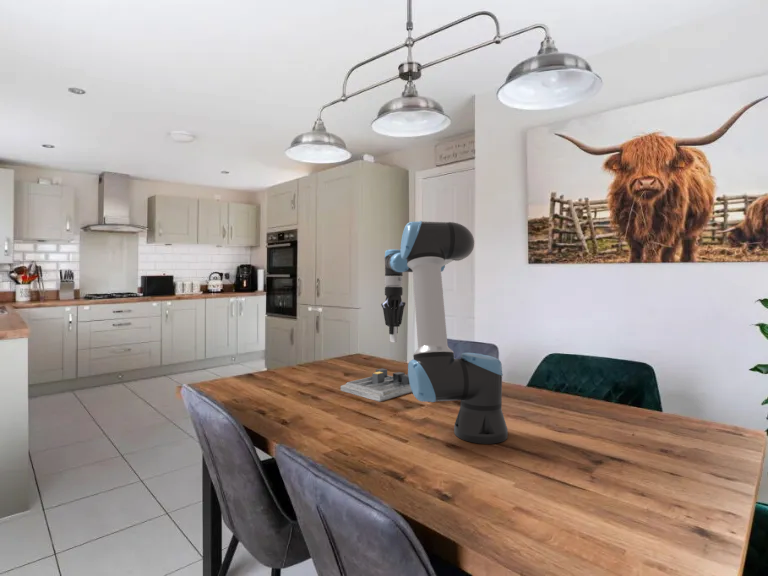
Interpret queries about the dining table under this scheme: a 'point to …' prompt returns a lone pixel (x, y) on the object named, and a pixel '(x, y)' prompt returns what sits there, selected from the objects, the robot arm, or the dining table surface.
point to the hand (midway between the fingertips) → (393, 341)
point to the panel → (380, 386)
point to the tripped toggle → (377, 377)
